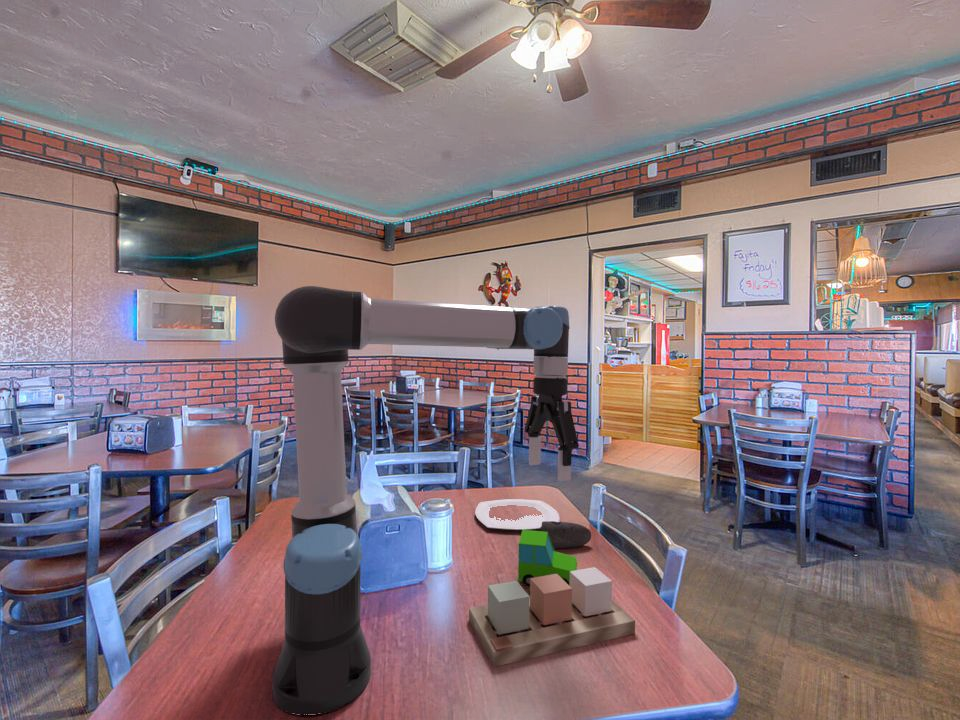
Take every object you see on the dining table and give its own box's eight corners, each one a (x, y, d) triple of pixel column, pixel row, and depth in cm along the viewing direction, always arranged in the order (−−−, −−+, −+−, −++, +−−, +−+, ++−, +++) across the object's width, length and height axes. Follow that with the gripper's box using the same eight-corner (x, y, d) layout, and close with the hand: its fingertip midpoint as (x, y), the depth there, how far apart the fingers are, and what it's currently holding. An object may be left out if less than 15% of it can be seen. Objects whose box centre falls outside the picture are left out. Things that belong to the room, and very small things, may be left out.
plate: (471, 505, 157) (471, 500, 157) (546, 503, 160) (546, 498, 160) (479, 537, 131) (479, 530, 131) (569, 534, 134) (569, 527, 133)
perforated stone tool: (588, 542, 127) (588, 518, 127) (594, 550, 122) (594, 525, 122) (536, 543, 126) (536, 518, 126) (539, 551, 121) (540, 526, 121)
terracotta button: (543, 625, 84) (544, 593, 84) (529, 607, 90) (530, 578, 90) (571, 619, 86) (572, 588, 86) (556, 602, 92) (556, 573, 91)
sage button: (498, 634, 81) (499, 602, 81) (487, 616, 87) (487, 585, 87) (529, 628, 83) (529, 596, 83) (516, 610, 89) (516, 580, 89)
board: (493, 666, 77) (493, 650, 76) (468, 620, 90) (469, 605, 90) (634, 633, 86) (635, 618, 86) (593, 595, 99) (593, 582, 99)
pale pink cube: (585, 616, 87) (585, 585, 87) (569, 600, 93) (569, 571, 92) (611, 610, 89) (612, 580, 89) (594, 595, 95) (594, 567, 94)
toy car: (577, 595, 99) (577, 551, 99) (517, 588, 102) (518, 545, 102) (576, 573, 109) (577, 532, 109) (522, 567, 112) (523, 528, 112)
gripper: (597, 380, 89) (595, 486, 89) (539, 373, 112) (537, 458, 113) (564, 380, 86) (562, 490, 87) (512, 373, 110) (510, 460, 110)
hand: (548, 472), depth 100 cm, fingers open, 13 cm apart
